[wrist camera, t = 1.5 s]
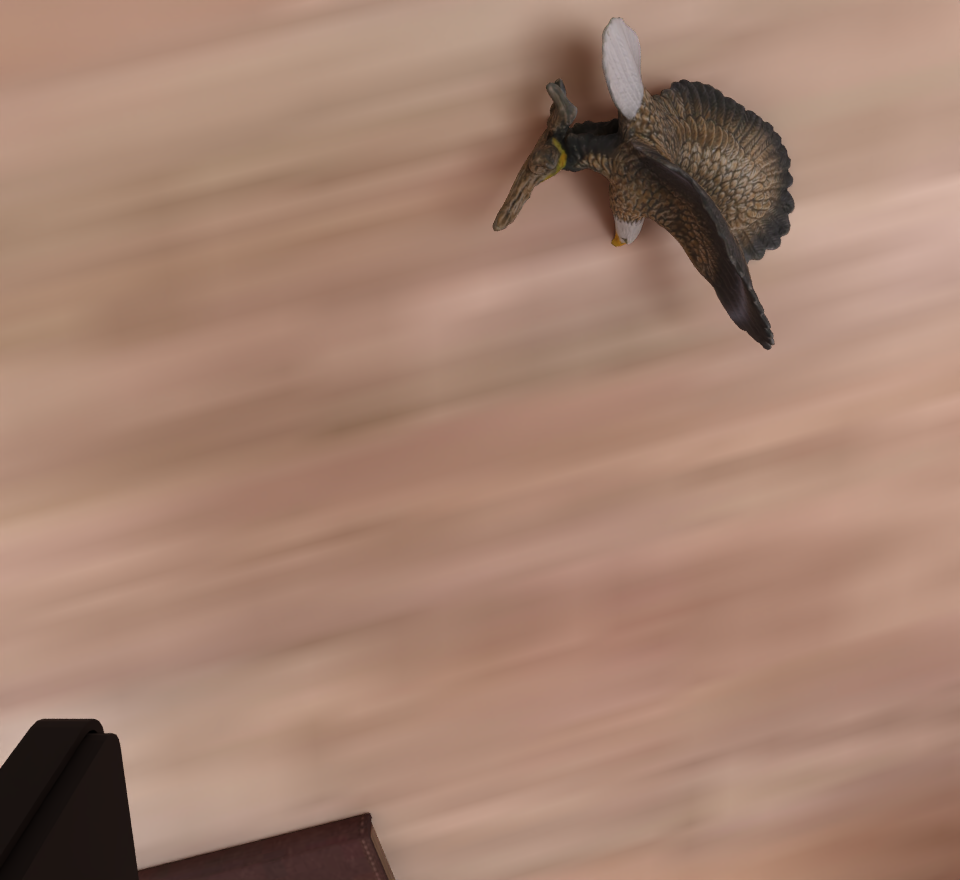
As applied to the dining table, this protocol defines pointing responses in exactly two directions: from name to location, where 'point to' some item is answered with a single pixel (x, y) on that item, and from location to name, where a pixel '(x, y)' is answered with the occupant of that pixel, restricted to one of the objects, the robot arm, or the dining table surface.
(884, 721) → the dining table surface
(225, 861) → the notebook
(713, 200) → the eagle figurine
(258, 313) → the dining table surface
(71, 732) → the robot arm
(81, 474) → the dining table surface
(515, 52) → the dining table surface
